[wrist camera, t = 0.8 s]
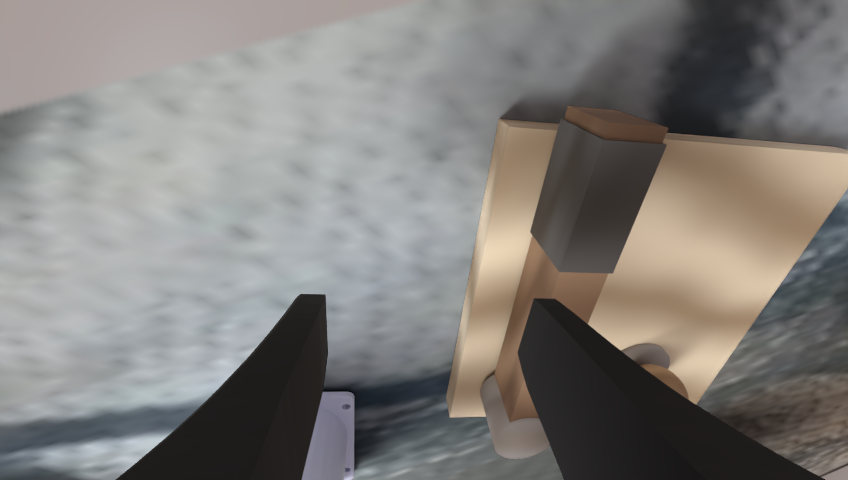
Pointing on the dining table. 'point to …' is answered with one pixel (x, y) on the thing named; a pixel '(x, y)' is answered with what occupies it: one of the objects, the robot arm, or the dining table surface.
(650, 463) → the robot arm
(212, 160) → the dining table surface
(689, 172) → the board
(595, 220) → the lever
